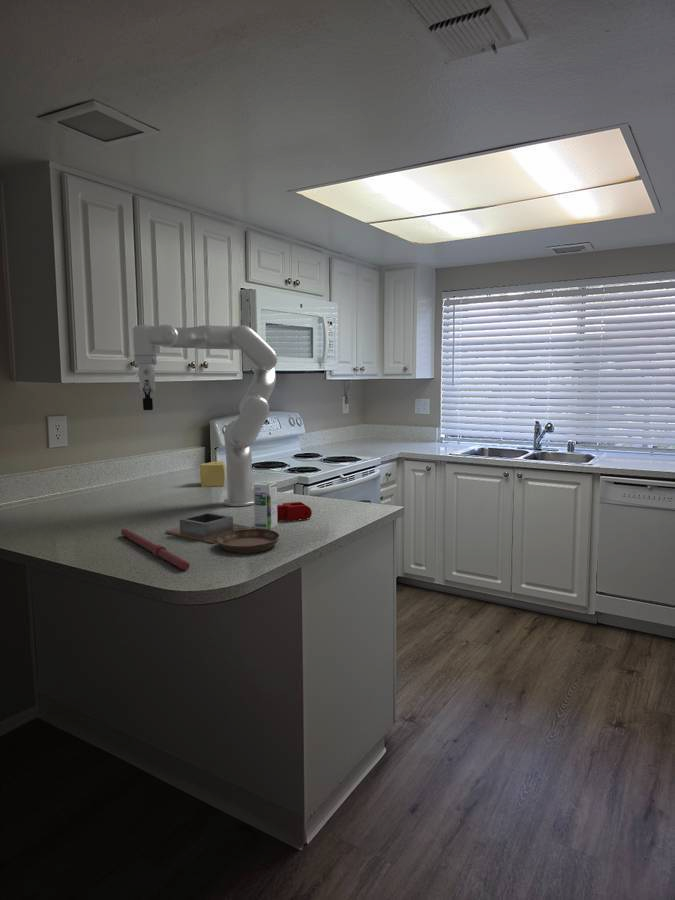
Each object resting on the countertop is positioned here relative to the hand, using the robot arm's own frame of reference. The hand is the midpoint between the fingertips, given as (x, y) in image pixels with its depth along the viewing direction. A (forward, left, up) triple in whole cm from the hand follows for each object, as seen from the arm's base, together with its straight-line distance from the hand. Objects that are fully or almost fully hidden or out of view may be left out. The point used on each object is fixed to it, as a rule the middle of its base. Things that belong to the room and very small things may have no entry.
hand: (148, 409), depth 221 cm
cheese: (-50, -23, -37) cm, 66 cm away
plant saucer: (+14, +62, -37) cm, 74 cm away
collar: (+9, +41, -37) cm, 56 cm away
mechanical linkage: (-17, +49, -37) cm, 64 cm away
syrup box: (-5, +51, -37) cm, 64 cm away
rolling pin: (+33, +44, -37) cm, 67 cm away
